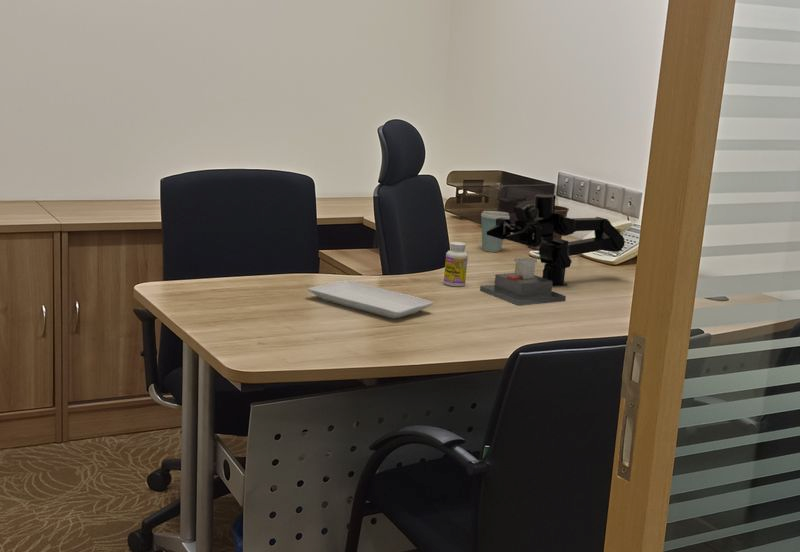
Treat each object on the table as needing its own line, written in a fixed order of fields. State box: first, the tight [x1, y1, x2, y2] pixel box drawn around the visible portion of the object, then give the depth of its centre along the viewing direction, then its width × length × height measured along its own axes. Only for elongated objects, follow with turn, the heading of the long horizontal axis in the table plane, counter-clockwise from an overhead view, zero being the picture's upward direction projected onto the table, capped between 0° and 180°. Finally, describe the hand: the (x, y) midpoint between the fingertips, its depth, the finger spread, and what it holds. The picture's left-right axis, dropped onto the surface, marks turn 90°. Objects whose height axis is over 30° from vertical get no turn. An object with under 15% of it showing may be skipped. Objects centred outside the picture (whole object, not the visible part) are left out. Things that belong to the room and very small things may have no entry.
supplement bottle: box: [443, 241, 469, 288], centre depth 283 cm, size 7×7×13 cm
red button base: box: [479, 272, 567, 306], centre depth 275 cm, size 18×18×6 cm
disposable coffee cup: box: [480, 210, 511, 253], centre depth 344 cm, size 11×11×15 cm
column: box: [514, 257, 538, 280], centre depth 275 cm, size 6×4×11 cm
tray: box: [307, 279, 434, 319], centre depth 251 cm, size 17×32×4 cm, turn 52°
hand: (496, 235), depth 278 cm, fingers open, 9 cm apart
